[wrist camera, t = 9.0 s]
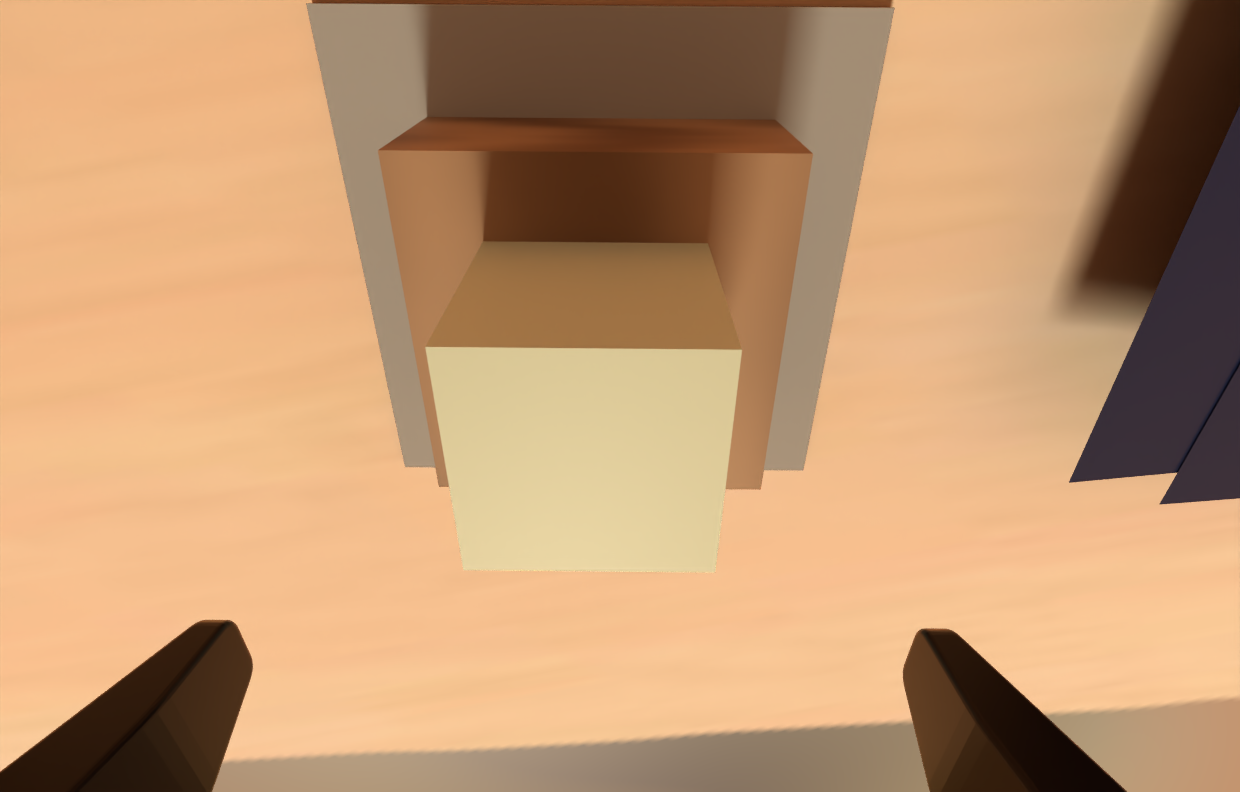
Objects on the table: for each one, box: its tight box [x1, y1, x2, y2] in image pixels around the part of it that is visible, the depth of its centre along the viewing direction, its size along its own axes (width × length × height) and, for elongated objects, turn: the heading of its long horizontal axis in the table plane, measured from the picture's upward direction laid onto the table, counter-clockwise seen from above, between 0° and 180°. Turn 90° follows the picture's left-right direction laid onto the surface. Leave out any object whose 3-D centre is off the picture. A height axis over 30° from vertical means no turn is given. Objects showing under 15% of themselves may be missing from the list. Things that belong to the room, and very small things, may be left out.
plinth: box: [378, 117, 813, 489], centre depth 18 cm, size 9×9×4 cm
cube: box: [425, 241, 742, 573], centre depth 14 cm, size 5×5×5 cm
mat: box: [306, 3, 894, 470], centre depth 19 cm, size 14×14×1 cm
